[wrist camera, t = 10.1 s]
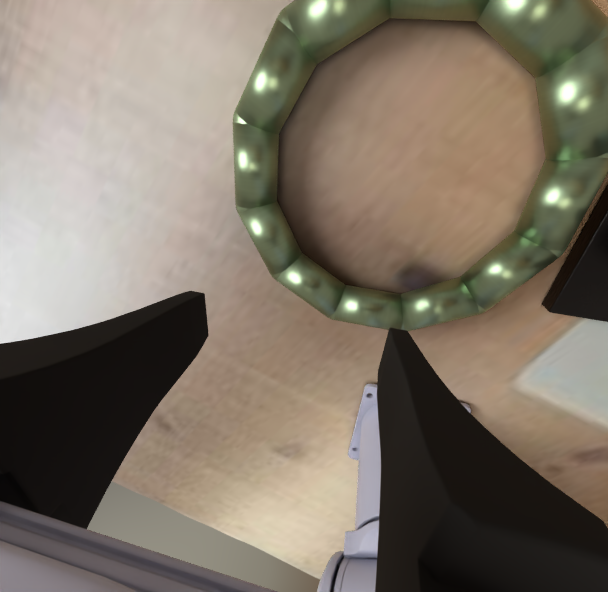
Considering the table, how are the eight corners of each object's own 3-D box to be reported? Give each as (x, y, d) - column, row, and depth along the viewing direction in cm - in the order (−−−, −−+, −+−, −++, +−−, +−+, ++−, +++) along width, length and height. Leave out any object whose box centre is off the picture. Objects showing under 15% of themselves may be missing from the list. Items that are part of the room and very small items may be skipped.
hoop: (501, 337, 20) (515, 361, 18) (246, 291, 22) (233, 308, 20) (696, -48, 11) (770, -89, 9) (240, -51, 14) (215, -83, 12)
